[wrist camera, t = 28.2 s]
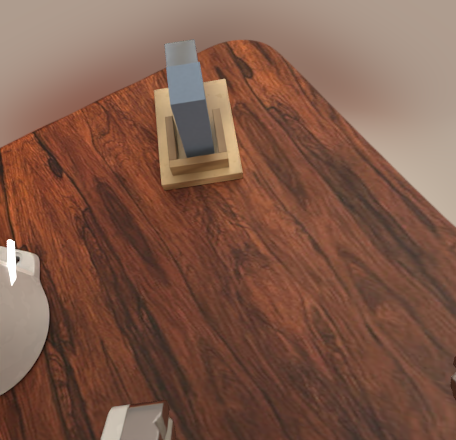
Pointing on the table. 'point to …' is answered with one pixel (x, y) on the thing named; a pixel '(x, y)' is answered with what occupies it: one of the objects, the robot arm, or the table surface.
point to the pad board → (220, 128)
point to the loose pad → (190, 108)
